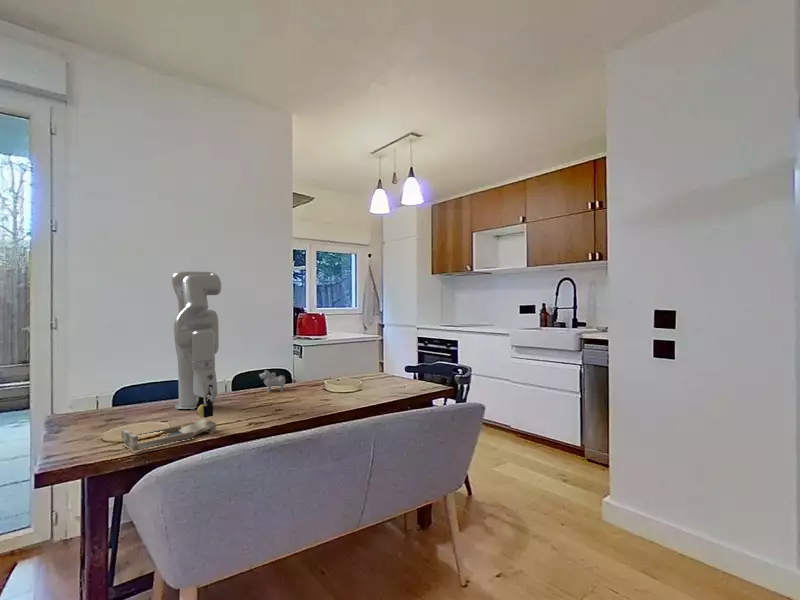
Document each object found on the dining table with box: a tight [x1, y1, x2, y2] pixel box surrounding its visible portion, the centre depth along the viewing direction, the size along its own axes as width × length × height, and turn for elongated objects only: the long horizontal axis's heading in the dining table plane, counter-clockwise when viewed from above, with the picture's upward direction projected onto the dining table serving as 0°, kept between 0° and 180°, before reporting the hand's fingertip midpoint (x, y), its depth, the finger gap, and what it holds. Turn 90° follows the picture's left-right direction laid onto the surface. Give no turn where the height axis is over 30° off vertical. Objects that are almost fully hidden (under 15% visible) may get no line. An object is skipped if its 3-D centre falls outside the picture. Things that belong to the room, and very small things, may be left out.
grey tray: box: [121, 425, 195, 451], centre depth 156 cm, size 12×19×5 cm, turn 137°
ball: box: [196, 404, 206, 419], centre depth 167 cm, size 5×5×5 cm
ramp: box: [177, 418, 217, 436], centre depth 166 cm, size 10×9×3 cm
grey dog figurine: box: [258, 370, 286, 393], centre depth 236 cm, size 5×13×11 cm, turn 100°
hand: (204, 414), depth 168 cm, fingers closed on ball, 4 cm apart
